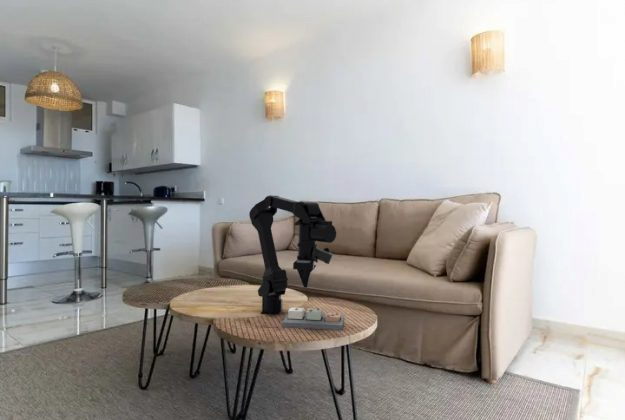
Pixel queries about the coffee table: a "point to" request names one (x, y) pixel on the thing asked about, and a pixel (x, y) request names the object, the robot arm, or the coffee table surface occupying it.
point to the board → (313, 323)
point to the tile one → (296, 313)
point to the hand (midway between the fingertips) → (305, 287)
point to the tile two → (314, 314)
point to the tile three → (332, 317)
